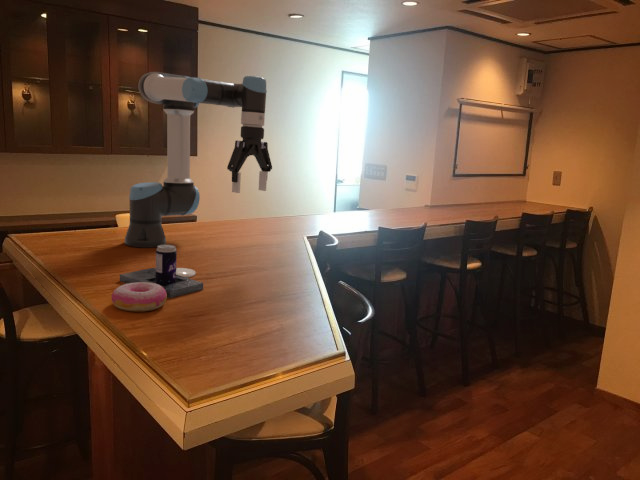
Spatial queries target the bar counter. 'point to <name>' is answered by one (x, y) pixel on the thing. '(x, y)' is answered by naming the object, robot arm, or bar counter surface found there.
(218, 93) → the robot arm
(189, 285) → the grey board with hole
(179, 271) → the coaster
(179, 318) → the bar counter surface
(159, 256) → the beverage can
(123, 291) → the donut
